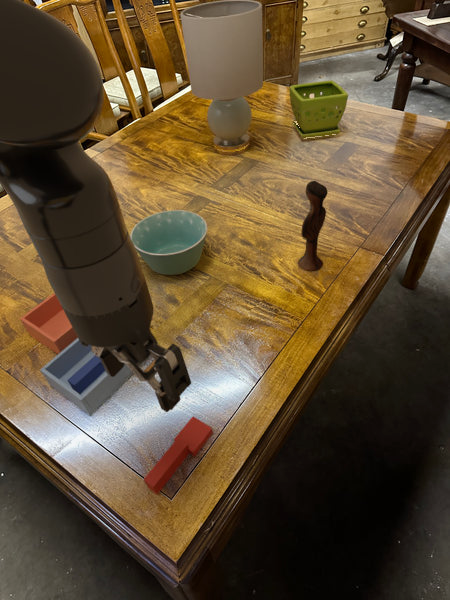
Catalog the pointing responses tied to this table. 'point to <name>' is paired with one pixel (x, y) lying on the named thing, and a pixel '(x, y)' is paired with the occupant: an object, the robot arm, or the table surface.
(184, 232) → the bowl
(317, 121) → the flower pot
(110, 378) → the blue bin
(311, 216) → the figurine
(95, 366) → the blue bar
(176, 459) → the red stepped block
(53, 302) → the red bin
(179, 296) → the table surface
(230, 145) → the lamp
